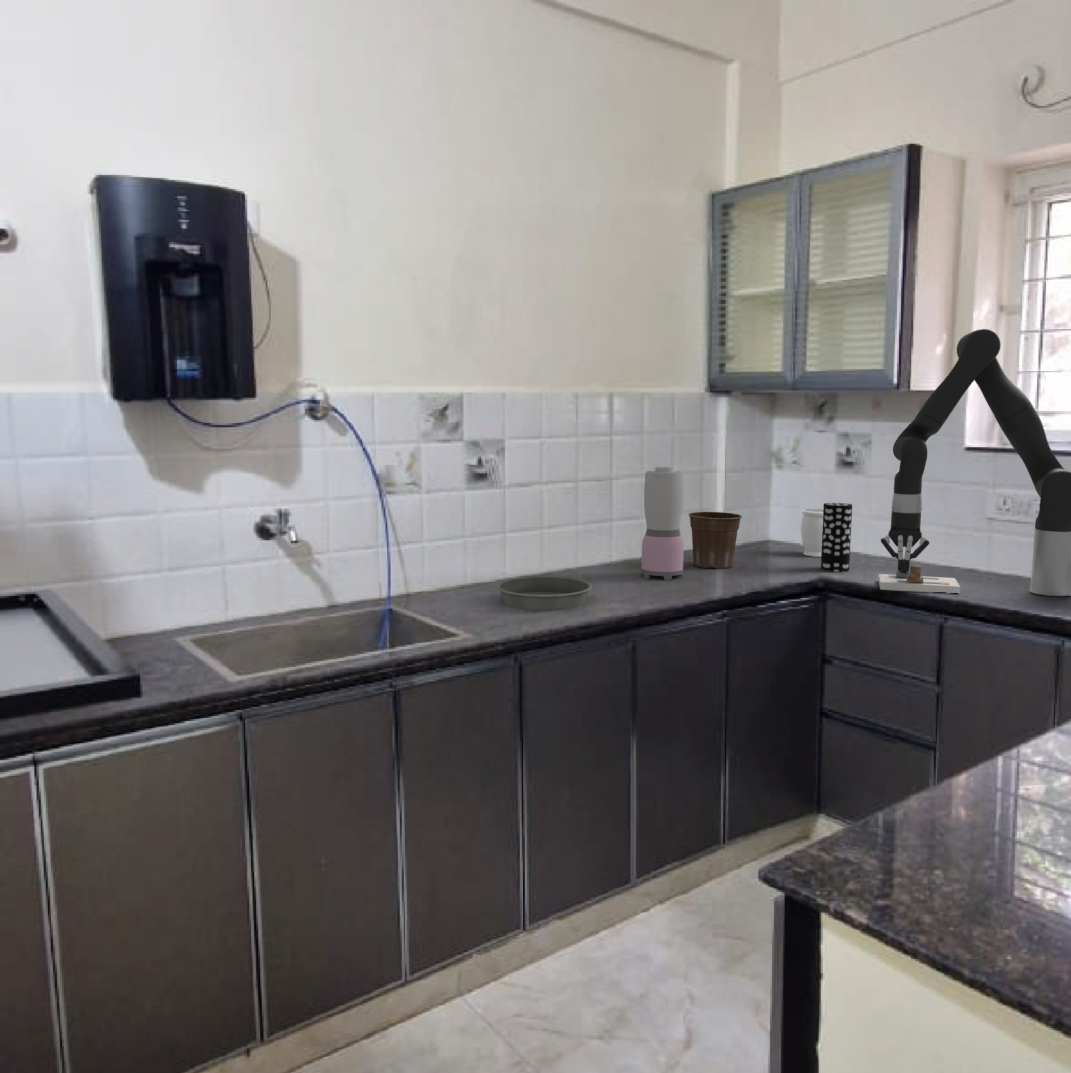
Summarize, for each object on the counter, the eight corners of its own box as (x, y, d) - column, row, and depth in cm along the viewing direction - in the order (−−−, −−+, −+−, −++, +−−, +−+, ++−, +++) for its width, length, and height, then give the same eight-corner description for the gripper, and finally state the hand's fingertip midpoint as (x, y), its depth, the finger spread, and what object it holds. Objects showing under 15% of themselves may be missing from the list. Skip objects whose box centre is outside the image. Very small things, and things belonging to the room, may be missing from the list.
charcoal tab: (910, 575, 268) (911, 560, 268) (911, 577, 265) (912, 562, 264) (895, 574, 269) (896, 559, 269) (896, 576, 266) (897, 562, 265)
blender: (675, 581, 271) (678, 469, 266) (635, 578, 276) (637, 467, 271) (691, 572, 285) (693, 465, 280) (652, 569, 290) (654, 464, 285)
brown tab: (922, 580, 261) (923, 565, 260) (923, 582, 258) (924, 567, 257) (906, 579, 262) (907, 564, 262) (907, 581, 259) (908, 566, 258)
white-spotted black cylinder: (850, 572, 286) (853, 506, 283) (821, 571, 287) (824, 505, 284) (847, 567, 294) (850, 503, 291) (819, 566, 295) (822, 502, 292)
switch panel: (954, 585, 266) (954, 577, 266) (959, 594, 254) (960, 586, 254) (878, 580, 272) (878, 573, 272) (880, 589, 260) (880, 581, 260)
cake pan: (476, 601, 245) (476, 584, 244) (544, 588, 262) (544, 572, 261) (544, 617, 228) (544, 598, 227) (611, 602, 245) (612, 585, 244)
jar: (812, 551, 324) (814, 508, 322) (839, 555, 316) (841, 510, 314) (793, 555, 317) (795, 510, 315) (820, 559, 310) (822, 513, 307)
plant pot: (750, 566, 296) (752, 514, 294) (719, 572, 285) (720, 519, 283) (708, 559, 308) (710, 510, 306) (676, 565, 297) (677, 514, 295)
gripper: (931, 509, 260) (927, 572, 262) (880, 507, 264) (876, 569, 266) (934, 512, 253) (930, 576, 255) (881, 510, 256) (877, 574, 259)
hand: (902, 573), depth 261 cm, fingers closed
